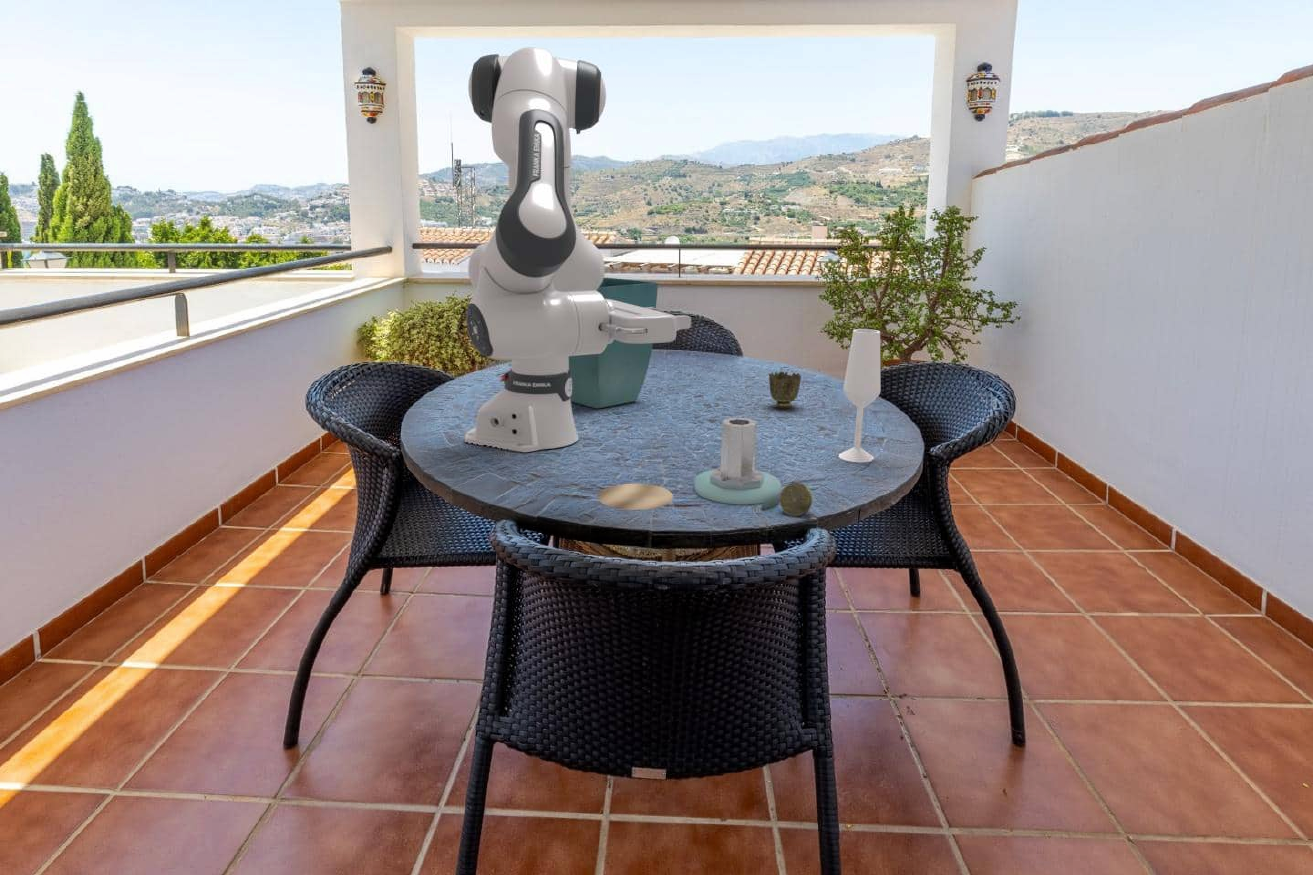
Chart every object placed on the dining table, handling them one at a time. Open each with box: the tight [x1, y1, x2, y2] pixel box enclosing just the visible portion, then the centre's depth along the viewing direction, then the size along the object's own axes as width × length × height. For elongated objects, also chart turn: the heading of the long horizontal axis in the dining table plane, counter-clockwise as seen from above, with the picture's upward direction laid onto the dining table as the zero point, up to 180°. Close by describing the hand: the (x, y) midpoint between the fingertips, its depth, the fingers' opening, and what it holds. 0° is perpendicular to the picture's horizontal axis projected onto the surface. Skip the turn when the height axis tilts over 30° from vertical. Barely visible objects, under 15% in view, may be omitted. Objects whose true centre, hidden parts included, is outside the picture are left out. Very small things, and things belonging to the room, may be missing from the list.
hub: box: [694, 469, 782, 511], centre depth 135 cm, size 14×14×6 cm
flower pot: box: [569, 277, 659, 409], centre depth 194 cm, size 20×20×28 cm
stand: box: [597, 483, 674, 511], centre depth 132 cm, size 12×12×1 cm
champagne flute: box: [838, 328, 882, 463], centre depth 154 cm, size 7×7×24 cm
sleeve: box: [710, 417, 764, 491], centre depth 133 cm, size 8×8×10 cm
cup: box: [768, 370, 802, 410], centre depth 193 cm, size 8×7×8 cm
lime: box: [779, 481, 813, 517], centre depth 128 cm, size 4×5×5 cm
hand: (672, 317), depth 122 cm, fingers open, 8 cm apart
